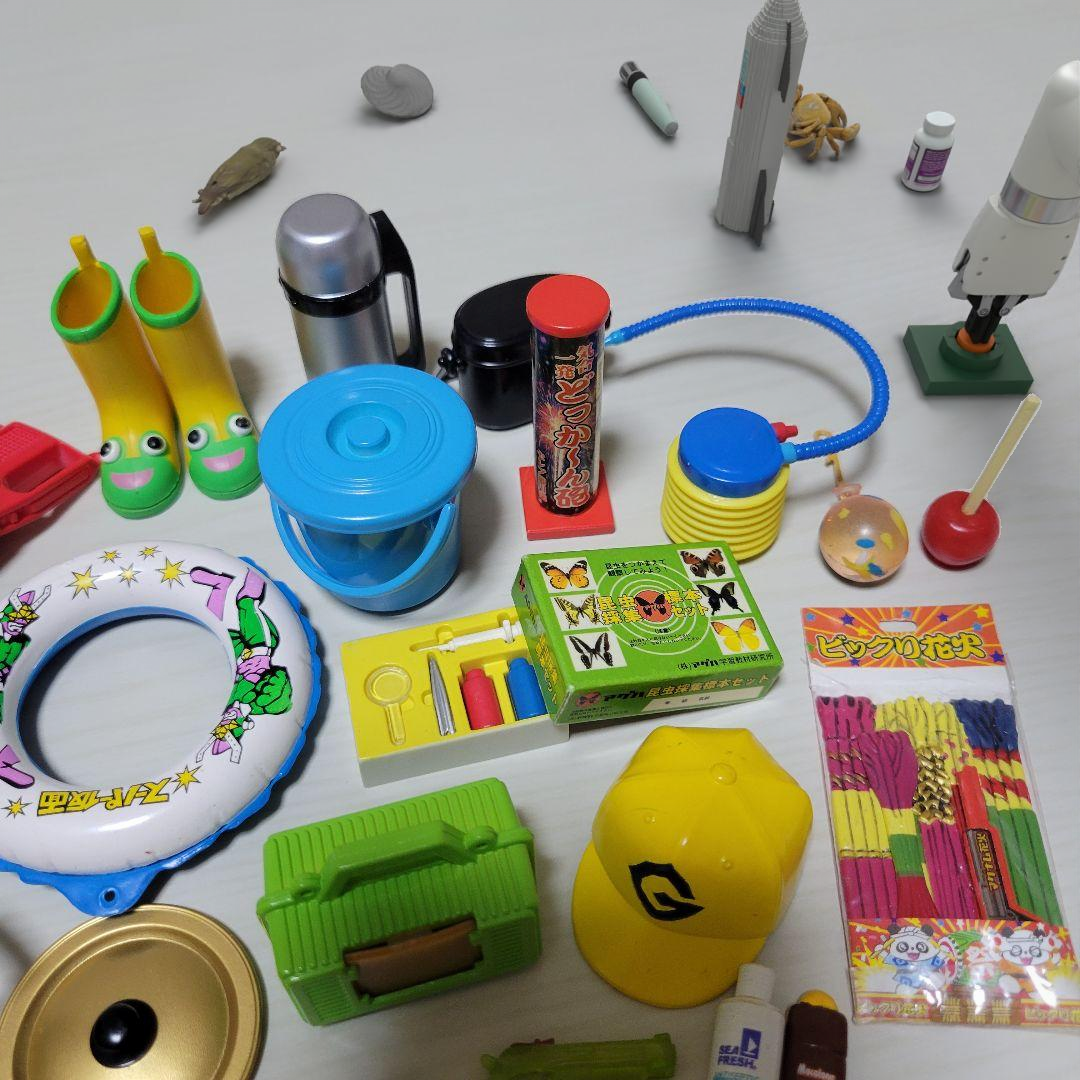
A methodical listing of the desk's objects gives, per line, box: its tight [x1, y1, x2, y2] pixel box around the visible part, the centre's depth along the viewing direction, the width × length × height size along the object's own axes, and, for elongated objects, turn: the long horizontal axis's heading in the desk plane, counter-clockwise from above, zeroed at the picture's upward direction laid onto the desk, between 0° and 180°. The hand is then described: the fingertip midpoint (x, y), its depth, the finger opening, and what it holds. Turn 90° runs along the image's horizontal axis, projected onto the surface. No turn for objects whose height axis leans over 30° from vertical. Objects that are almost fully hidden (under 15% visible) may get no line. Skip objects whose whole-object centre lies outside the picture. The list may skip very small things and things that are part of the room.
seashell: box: [360, 63, 434, 119], centre depth 149 cm, size 12×6×10 cm
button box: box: [903, 320, 1035, 397], centre depth 112 cm, size 12×10×4 cm
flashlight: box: [618, 60, 679, 137], centre depth 149 cm, size 3×4×20 cm
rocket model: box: [714, 0, 809, 248], centre depth 120 cm, size 14×7×30 cm, turn 11°
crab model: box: [784, 82, 861, 161], centre depth 143 cm, size 16×13×6 cm
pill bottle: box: [901, 110, 956, 192], centre depth 133 cm, size 5×5×10 cm
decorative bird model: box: [191, 136, 287, 216], centre depth 135 cm, size 5×20×5 cm, turn 151°
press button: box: [956, 327, 995, 353], centre depth 111 cm, size 4×4×2 cm
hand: (976, 335), depth 110 cm, fingers closed
